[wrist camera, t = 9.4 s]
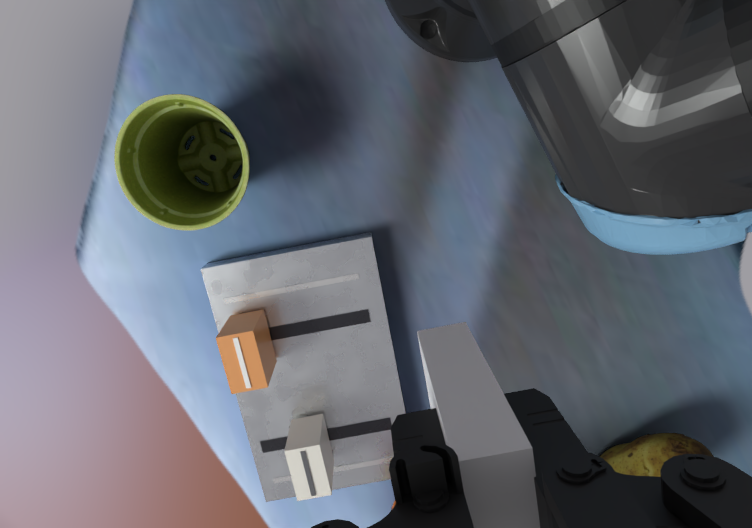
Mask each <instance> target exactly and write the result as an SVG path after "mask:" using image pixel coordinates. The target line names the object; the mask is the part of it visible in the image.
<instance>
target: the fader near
mask: <svg viewBox="0 0 752 528" xmlns="http://www.w3.org/2000/svg"><path fill="white" fill-rule="evenodd" d="M216 340H217V344H218V348H219V351H220V355H221V358H222V362H223V365H224V369H225V372H226V376H227V379H228V383H229V386H230V390H231V393H232V394H235V393H241V392H246V391H251V390H257V389H262V388H268V386H269V383H270V380H271V377H272V374H273V371H274V368H275V365H276V362H277V360H276V356H275V352H274V348H273V344H272V340H271V336H270V332H269V328H268V324H267V320H266V317H265V313H264V309H263V310H258V311H253V312H247V313H242V314H237V315H231V316H230V317H229V318H228V320H227V321H226V323H225V324H224V326H223V327H222V329H221V331H220V332H219V334H218V335H217V337H216Z"/></svg>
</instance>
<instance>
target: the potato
mask: <svg viewBox="0 0 752 528" xmlns="http://www.w3.org/2000/svg"><path fill="white" fill-rule="evenodd" d="M683 454H703V455H707V456H712V457H714V456H713V455H712V454H711V452H710V451H709V450H708V449H707V448H706V447H705V446H704V445H703V444H702V443H700V442H698V441H696V440H694V439H692V438H690V437H687V436H685V435H683V434H677V433H658V434H652V435H650V434H647V435H644V436H642V437H639V438H637V439H636V440H634V441H632V442H631V443H626V444H620V445H616V446H614V447H612V448H610V449H608V450H607V451H605V452H604V453H603V454H602V455H601V456H600V457H601V458H603V459H604V460H605V461H606V462H608V463H609V464H610V465H611V466H612V468H613V469H614V470H615V472H618V473H621V474H626V475H635V476H655V477H661V474H660V470H661V468H662V465H663V463H664V462H665V461H667V460H668V459H670V458H672V457H673V456H678V455H683Z"/></svg>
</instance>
